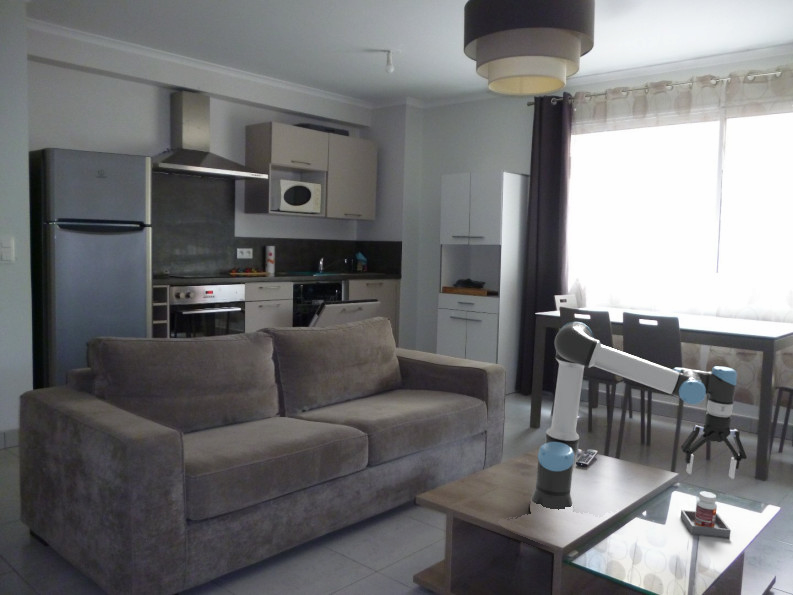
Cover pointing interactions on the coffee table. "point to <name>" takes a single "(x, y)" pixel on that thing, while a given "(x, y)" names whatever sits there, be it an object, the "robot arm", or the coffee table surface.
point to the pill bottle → (705, 510)
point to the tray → (718, 531)
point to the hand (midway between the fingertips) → (709, 475)
